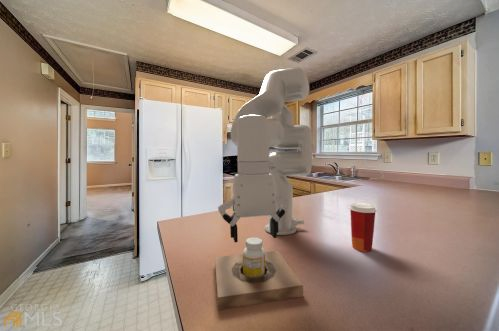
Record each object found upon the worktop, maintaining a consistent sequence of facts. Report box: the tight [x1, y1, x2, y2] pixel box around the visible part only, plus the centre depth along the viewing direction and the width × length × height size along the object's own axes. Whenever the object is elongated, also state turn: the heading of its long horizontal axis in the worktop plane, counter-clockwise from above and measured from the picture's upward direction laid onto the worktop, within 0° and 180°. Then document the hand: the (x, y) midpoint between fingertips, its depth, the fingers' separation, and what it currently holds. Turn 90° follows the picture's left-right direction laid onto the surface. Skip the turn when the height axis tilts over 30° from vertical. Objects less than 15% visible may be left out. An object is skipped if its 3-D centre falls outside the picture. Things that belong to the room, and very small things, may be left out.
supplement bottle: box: [242, 237, 266, 278], centre depth 49 cm, size 5×5×10 cm
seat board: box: [214, 250, 304, 310], centre depth 49 cm, size 18×16×2 cm
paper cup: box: [348, 202, 378, 253], centre depth 65 cm, size 8×8×14 cm
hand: (254, 237), depth 50 cm, fingers open, 9 cm apart
